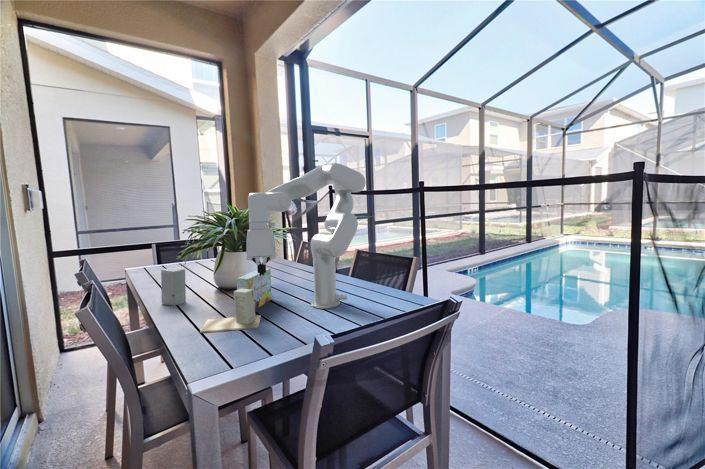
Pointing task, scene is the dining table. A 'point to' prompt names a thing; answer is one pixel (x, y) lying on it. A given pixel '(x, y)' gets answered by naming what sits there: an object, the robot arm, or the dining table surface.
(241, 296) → the skincare box
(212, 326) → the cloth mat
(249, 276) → the snack box
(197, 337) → the dining table surface
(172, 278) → the skincare box
